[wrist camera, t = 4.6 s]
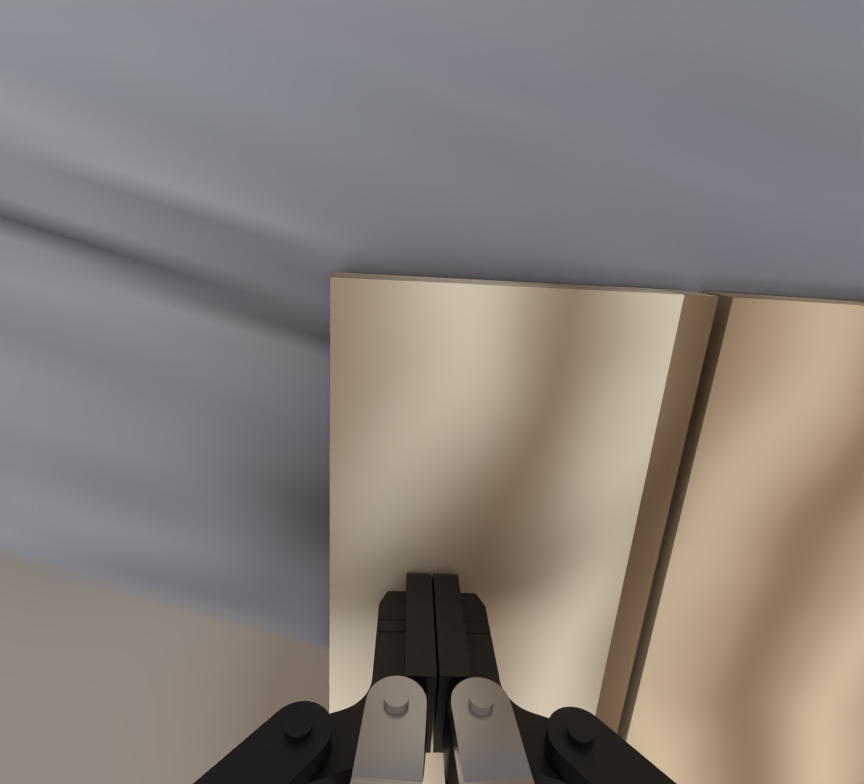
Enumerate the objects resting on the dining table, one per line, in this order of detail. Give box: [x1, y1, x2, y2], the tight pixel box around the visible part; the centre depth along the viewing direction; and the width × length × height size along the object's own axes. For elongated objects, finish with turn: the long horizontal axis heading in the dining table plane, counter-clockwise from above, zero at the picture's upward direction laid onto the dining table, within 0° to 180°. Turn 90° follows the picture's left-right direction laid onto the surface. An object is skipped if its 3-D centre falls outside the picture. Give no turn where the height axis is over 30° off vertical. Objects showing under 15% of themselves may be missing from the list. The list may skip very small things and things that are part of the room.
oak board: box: [617, 291, 864, 784], centre depth 17 cm, size 9×18×2 cm, turn 176°
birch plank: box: [329, 272, 719, 784], centre depth 16 cm, size 10×18×2 cm, turn 176°
